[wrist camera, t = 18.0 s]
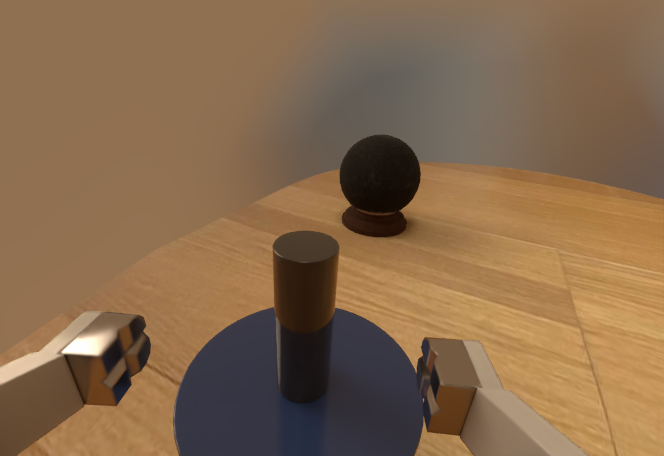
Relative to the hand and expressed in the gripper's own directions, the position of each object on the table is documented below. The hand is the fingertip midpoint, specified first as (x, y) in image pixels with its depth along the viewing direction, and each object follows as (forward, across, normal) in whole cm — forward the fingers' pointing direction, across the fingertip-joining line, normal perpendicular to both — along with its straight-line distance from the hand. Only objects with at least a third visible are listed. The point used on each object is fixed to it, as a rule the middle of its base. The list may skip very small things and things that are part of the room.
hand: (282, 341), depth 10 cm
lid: (+4, 0, +7) cm, 8 cm away
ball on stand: (+46, -8, +17) cm, 50 cm away
